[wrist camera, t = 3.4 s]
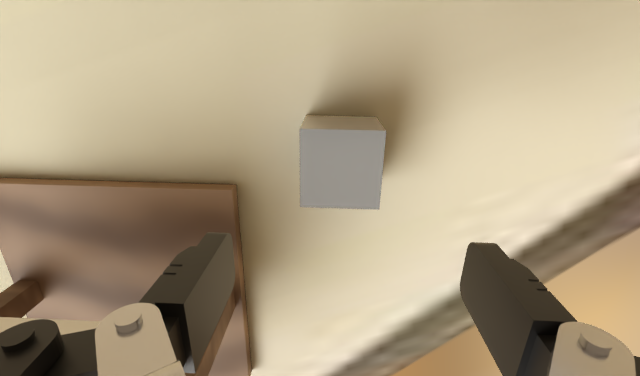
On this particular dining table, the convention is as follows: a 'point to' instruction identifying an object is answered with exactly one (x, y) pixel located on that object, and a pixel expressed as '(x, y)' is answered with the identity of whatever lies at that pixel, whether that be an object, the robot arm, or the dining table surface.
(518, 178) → the dining table surface
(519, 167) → the dining table surface
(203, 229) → the stand
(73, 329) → the trapdoor
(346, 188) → the gray cube
